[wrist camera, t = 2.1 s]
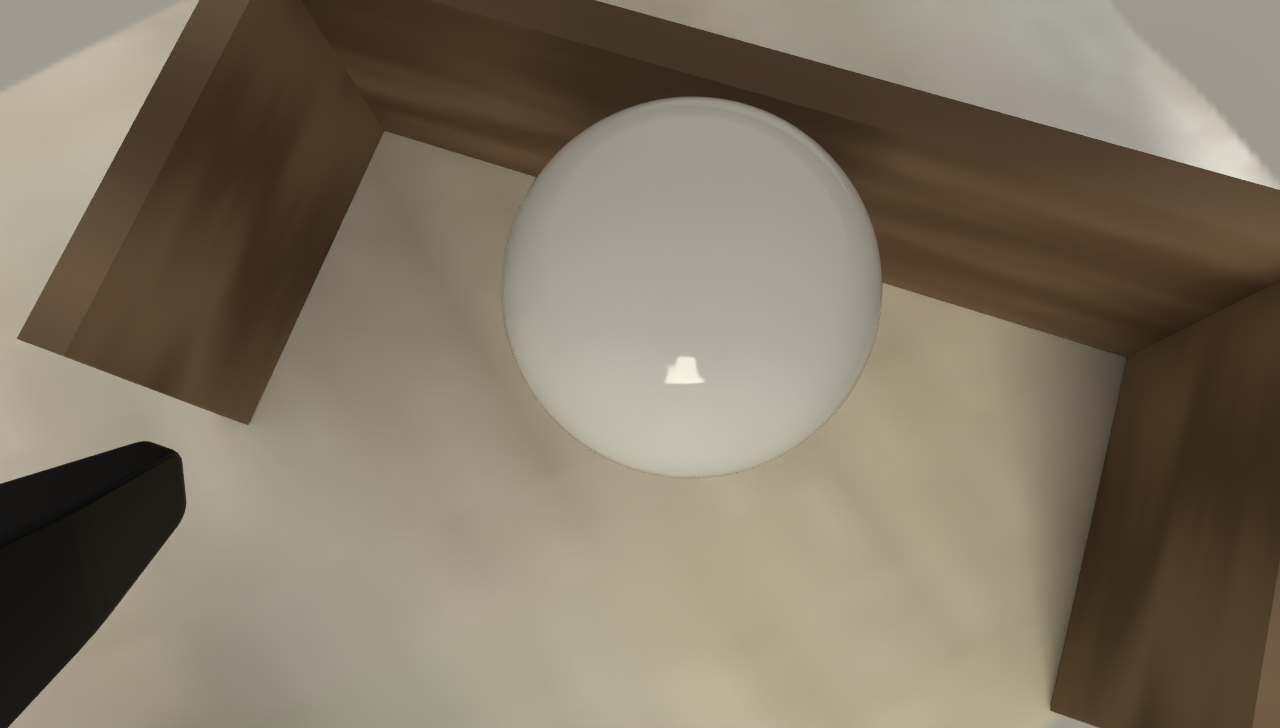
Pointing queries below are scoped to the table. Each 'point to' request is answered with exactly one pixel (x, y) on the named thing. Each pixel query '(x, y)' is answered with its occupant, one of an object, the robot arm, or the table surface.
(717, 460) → the lightbulb
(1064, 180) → the open box
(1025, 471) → the table surface
